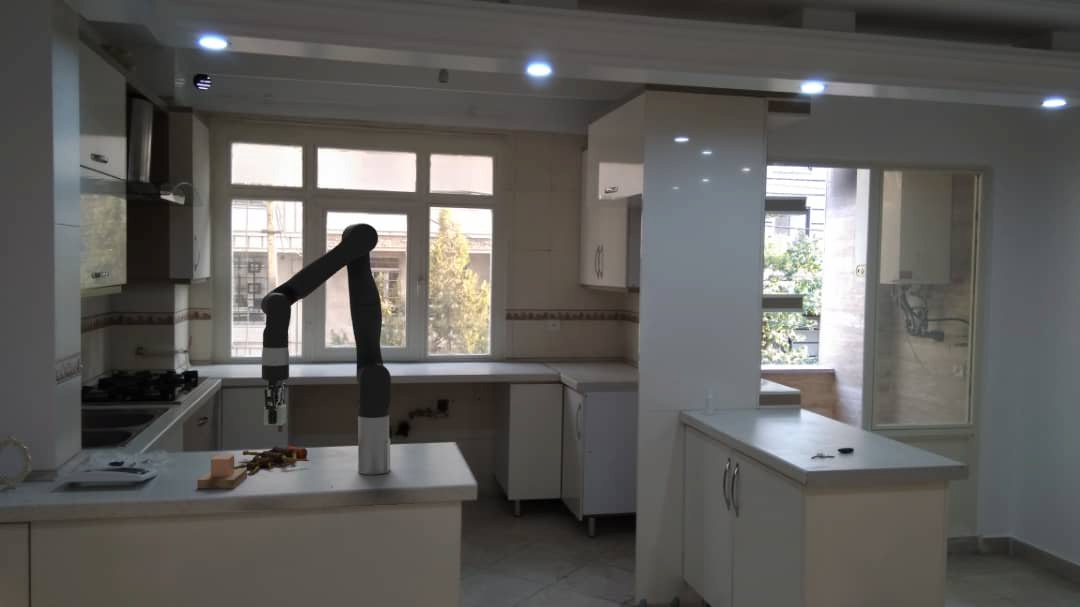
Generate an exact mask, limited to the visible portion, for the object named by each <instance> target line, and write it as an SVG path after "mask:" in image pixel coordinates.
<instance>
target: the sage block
mask: <svg viewBox="0 0 1080 607" xmlns="http://www.w3.org/2000/svg"><path fill="white" fill-rule="evenodd" d="M286 422H287V404H283V405H277V423H276V424H269V423H268V410H266V408H265V406H264V407H263V425H264V426H283V425H284V424H286Z"/></svg>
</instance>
